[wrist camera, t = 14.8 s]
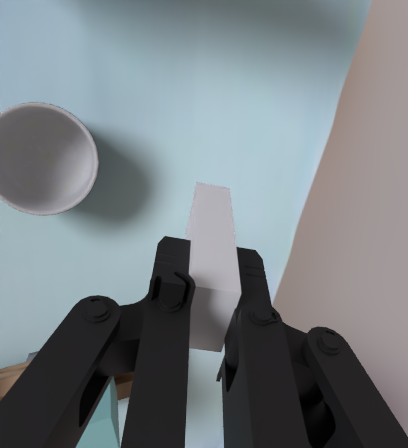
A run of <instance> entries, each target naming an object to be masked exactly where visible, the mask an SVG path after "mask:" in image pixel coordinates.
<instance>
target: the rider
mask: <svg viewBox="0 0 408 448" xmlns="http://www.w3.org/2000/svg"><path fill="white" fill-rule="evenodd" d="M76 448H120V441H119V421H118V401H117V389H116V385H115V381H114V377H113V378H112V380H111V381H110V383H109V385H108V387H107V389H106V391H105V393H104V395H103V397H102V399H101V400H100V402H99V404H98V406H97V408H96V410H95V412H94V414H93V416H92V418H91V419H90V421H89V423H88V425H87V427H86V429H85V431H84V433H83V435H82V437H81V438H80V440H79V442H78V444H77V446H76Z"/></svg>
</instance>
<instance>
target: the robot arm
mask: <svg viewBox="0 0 408 448" xmlns="http://www.w3.org/2000/svg"><path fill="white" fill-rule="evenodd" d="M224 344H225V355H224V358H223V361H222V364H221V367H220V370H219V372H218V375H217V380H216V381H219V382H220V379H221V377H222V398H223V427H224V448H408V437H407V435H406V433H405V432H404V430H403V429H402V427H401V426H400V424H399V422H398V421H397V419H396V418H395V416H394V415H393V413H392V412H391V410H390V409H389V407H388V406H387V404H386V402H385V401H384V400H383V398H382V396H381V394H380V393H379V391H378V390H377V388H376V387H375V385H374V383H373V382H372V380H371V379H370V377H369V376H368V374H367V373H366V371H365V369H364V368H363V366H362V365H361V363H360V362H359V360H358V359H357V357H356V355H355V354H354V352H353V351H352V349H351V348H350V346H349V345H348V343H347V342H346V341H345V339H344V338H343V337H342V336H340V335H339V334H338V333H336V332H335V331H334V330H331V329H329V328H326V327H315V328H312V329H311V330H310V331H309V332H308V333H304V332H302V331H300V330H297V329H295V328H292V327H290V326H288V325H286V324H285V323H284V322H282V319H281V317H280V314H279V313H278V312H277V311H276V310H275V309H274V308H273V307H272V305H271V300H270V295H269V290H268V285H267V280H266V275H265V271H264V265H263V259H262V258H261V257H260V255H259V254H258V253H257V251H256V250H252V249H246V248H239V247H236V240H235V231H234V222H233V213H232V204H231V195H230V188H225V187H219V186H214V185H208V184H203V183H197V182H196V186H195V191H194V196H193V201H192V206H191V210H190V215H189V220H188V225H187V229H186V236H185V239H179V238H173V237H167V236H165V237H164V238H163V239H162V240H161V241H160V242H159V243H158V246H157V251H156V257H155V262H154V268H153V273H152V278H151V280H150V286H149V292H148V294H147V295H146V297H145V298H143V299H142V300H141V301H139V302H136V303H134V304H129V305H122V306H119V305H118V304H117V303H116V302H115V301H114V300H112V299H111V298H109V297H105V296H99V295H97V296H89V297H87V298H84V299H82V300H80V301H79V302H78V303H77V304H76V305H75V306H74V307H73V308H72V310H71V311H70V312H69V313H68V315H67V316H66V317H65V319H64V320H63V321H62V322H61V324H60V325H59V326H58V328H57V329H56V330H55V331H54V333H53V334H52V335H51V337H50V338H49V339H48V340H47V342H46V343H45V344H44V346H43V347H42V348H41V349H40V351H39V352H38V353H37V355H36V356H35V357H34V358H33V360H32V361H31V362H30V364H29V365H28V366H27V367H26V369H25V370H24V371H23V373H22V374H21V375H20V376H19V378H18V379H17V380H16V382H15V383H14V384H13V385H12V387H11V388H10V389H9V391H8V392H7V393H6V394H5V396H4V397H3V398H2V400H1V401H0V448H76V446H77V444H78V442H79V440H80V438H81V437H82V435H83V433H84V431H85V429H86V427H87V425H88V423H89V421H90V419H91V418H92V416H93V414H94V412H95V410H96V408H97V406H98V404H99V402H100V400H101V399H102V397H103V395H104V393H105V391H106V389H107V387H108V385H109V383H110V381H111V380H112V378H113V375H118V374H123V373H129V372H134V376H133V382H132V387H131V393H130V398H129V404H128V409H127V415H126V420H125V426H124V431H123V437H122V442H121V448H185V428H186V405H187V382H188V360H189V348H193V349H200V350H208V351H215V352H221V351H222V348H223V345H224Z"/></svg>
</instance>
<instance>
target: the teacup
mask: <svg viewBox="0 0 408 448" xmlns="http://www.w3.org/2000/svg"><path fill="white" fill-rule="evenodd" d="M98 167H99V157H98V151H97V147H96V144H95V141H94V139H93V137H92V135H91V133H90V132H89V131H88V129H87V128H86V127H85V125H84V124H83V123H82V122H81V121H80V120H79V119H78V118H76V117H75V116H74V115H72V114H71V113H69V112H68V111H66V110H64V109H63V108H60V107H57V106H55V105H52V104H46V103H39V102H29V103H23V104H18V105H15V106H12V107H10V108H8V109H6V110H4V111H3V112H2V113H0V199H1V200H2V201H3V202H5V203H6V204H8V205H9V206H11V207H13V208H14V209H17V210H19V211H22V212H25V213H29V214H33V215H53V214H58V213H62V212H65V211H67V210H69V209H71V208H73V207H75V206H76V205H78V204H79V203H80V202H81V201H82V200H84V198H85V197H86V196H87V195H88V194H89V192H90V191H91V189H92V187H93V185H94V183H95V180H96V178H97V174H98Z"/></svg>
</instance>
